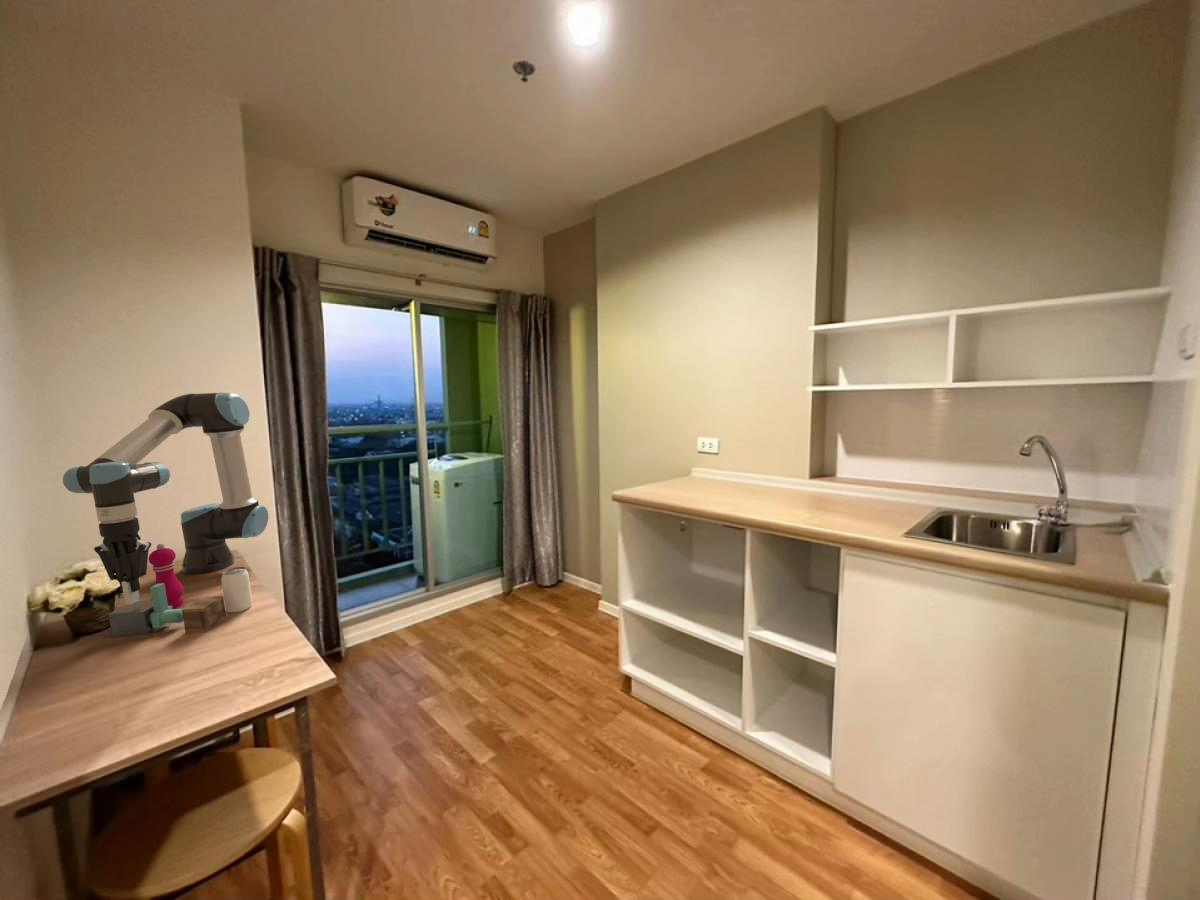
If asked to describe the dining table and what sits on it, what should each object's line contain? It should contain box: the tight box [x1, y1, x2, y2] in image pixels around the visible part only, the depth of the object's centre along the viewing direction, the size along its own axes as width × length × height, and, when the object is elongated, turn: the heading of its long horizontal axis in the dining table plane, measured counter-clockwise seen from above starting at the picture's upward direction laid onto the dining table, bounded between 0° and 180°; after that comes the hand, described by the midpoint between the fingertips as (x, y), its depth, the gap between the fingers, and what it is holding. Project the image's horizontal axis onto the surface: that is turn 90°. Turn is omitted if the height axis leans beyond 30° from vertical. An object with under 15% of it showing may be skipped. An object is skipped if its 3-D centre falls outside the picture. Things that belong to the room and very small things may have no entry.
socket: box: [181, 595, 227, 634], centre depth 132 cm, size 8×6×7 cm
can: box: [220, 566, 253, 614], centre depth 142 cm, size 6×6×12 cm
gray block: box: [108, 600, 159, 638], centre depth 131 cm, size 7×9×7 cm
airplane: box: [148, 583, 184, 629], centre depth 131 cm, size 16×5×11 cm, turn 94°
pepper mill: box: [148, 543, 185, 609], centre depth 144 cm, size 7×7×20 cm
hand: (132, 602), depth 130 cm, fingers closed
